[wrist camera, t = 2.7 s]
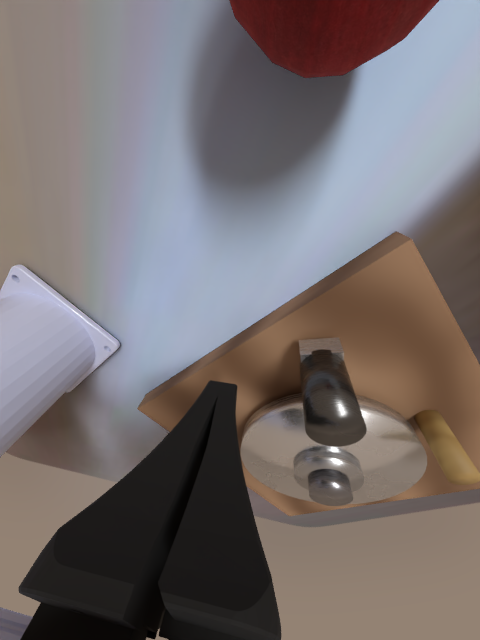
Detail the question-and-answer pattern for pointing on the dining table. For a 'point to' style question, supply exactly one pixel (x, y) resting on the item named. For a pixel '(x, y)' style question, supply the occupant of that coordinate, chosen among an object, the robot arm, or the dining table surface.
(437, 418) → the base board
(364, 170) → the dining table surface
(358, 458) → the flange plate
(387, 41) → the red oval fruit
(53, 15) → the dining table surface
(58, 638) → the robot arm
